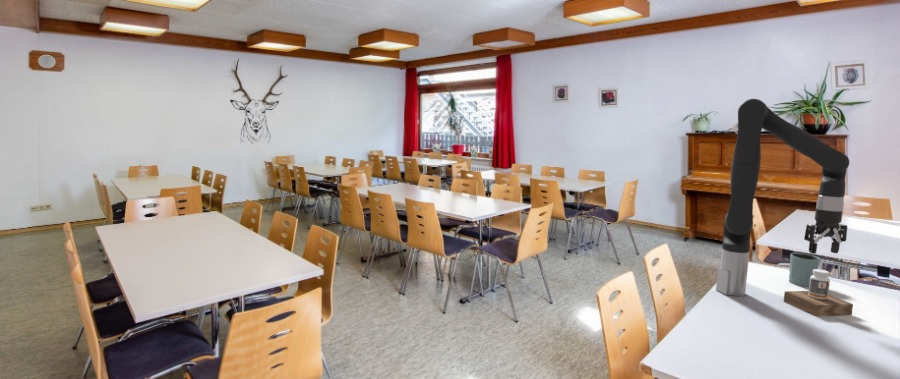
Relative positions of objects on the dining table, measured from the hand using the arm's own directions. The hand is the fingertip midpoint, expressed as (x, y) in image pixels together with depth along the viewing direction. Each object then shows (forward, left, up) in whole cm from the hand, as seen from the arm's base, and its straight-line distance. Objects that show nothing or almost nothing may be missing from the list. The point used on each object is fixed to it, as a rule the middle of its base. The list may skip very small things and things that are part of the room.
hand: (823, 252), depth 172 cm
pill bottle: (0, 0, -17) cm, 17 cm away
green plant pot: (+18, +26, -21) cm, 38 cm away
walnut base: (0, 0, -21) cm, 21 cm away
